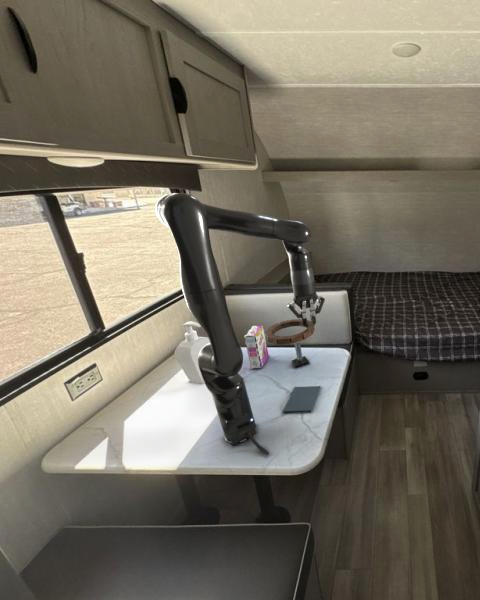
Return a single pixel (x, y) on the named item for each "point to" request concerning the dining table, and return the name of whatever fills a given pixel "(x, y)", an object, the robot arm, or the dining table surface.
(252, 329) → the candy bar box
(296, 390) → the mat
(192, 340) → the soap bottle
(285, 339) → the ring
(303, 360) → the stand
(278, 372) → the dining table surface
